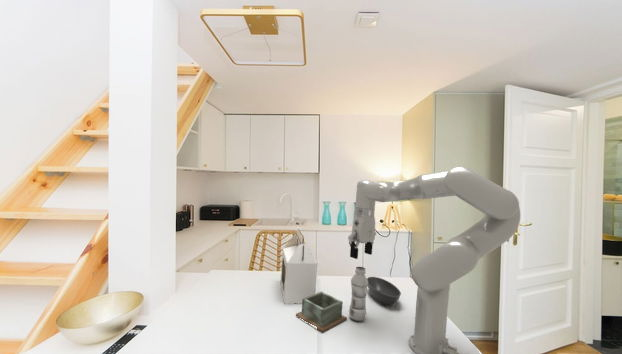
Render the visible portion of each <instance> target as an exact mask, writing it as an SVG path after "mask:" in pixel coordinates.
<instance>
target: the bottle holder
mask: <svg viewBox="0 0 622 354" xmlns="http://www.w3.org/2000/svg"><path fill="white" fill-rule="evenodd" d="M343 303H344V302H343V301H342V300H340V299H338V298H335V297H334V296H332V295H330V294H328V293H326V292H324V291H319V292H317V293H315V294H314V295H311V296H309V297H306V298H303V300H302V304H301V311H299V312H298V313H295V317H296V316H298V317H299V318H301V319H303V320H304V321H306V322H308V323H310V324H312V325H314V326H316V327H317V330H316V331H318V332H320V334H324V333H326V332H327V331H328V332H329V330H331V329H333V328H335V327H337V326H339V325H341V324H342V323H344V322H346V321H347V320H348V317H347V316H345V315H344V314H343ZM298 317H297V318H298ZM299 318H298V319H299ZM301 319H300V320H301ZM304 321H303V322H304Z"/></svg>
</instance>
